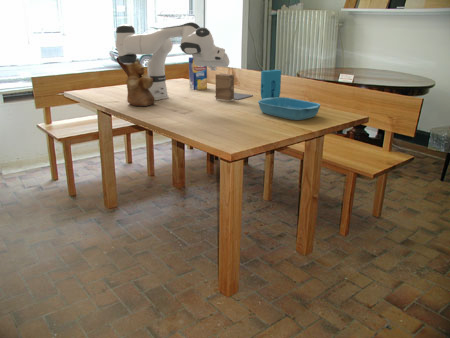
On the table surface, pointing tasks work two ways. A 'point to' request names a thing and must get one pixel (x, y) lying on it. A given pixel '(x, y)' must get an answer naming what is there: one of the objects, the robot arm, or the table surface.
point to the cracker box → (197, 75)
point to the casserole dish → (289, 108)
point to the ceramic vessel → (137, 84)
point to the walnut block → (225, 87)
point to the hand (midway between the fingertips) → (214, 69)
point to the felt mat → (240, 96)
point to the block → (270, 83)
